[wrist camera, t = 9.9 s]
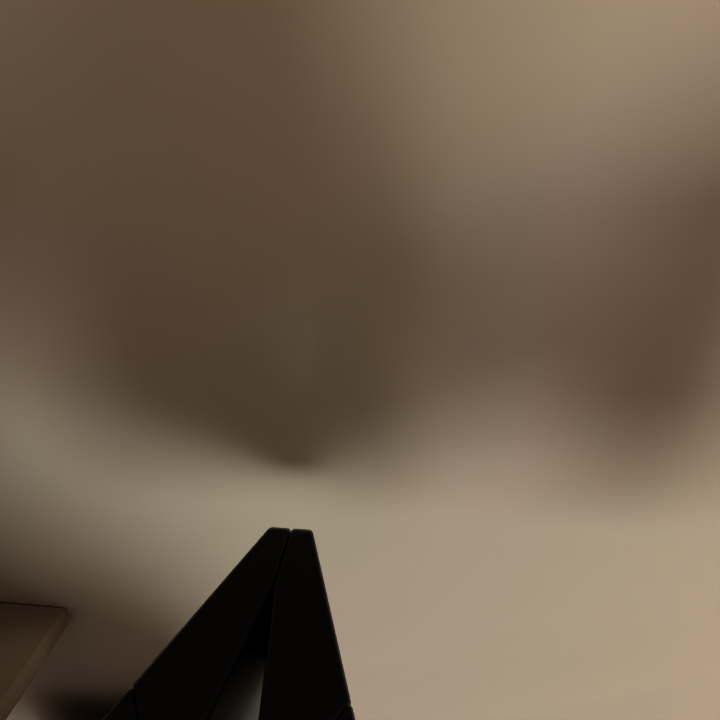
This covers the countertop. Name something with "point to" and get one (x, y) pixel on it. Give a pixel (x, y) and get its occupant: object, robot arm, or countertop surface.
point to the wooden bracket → (25, 647)
